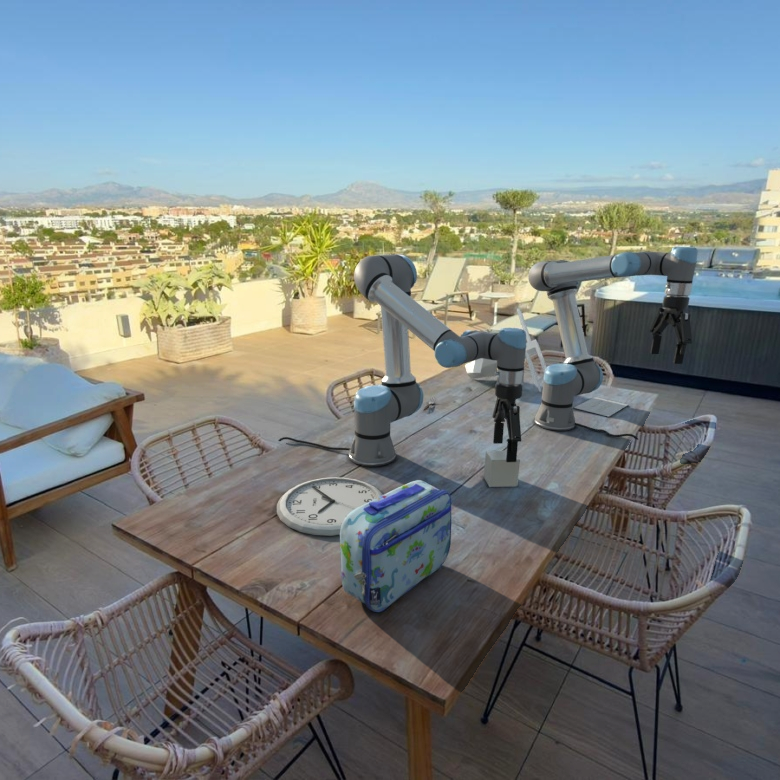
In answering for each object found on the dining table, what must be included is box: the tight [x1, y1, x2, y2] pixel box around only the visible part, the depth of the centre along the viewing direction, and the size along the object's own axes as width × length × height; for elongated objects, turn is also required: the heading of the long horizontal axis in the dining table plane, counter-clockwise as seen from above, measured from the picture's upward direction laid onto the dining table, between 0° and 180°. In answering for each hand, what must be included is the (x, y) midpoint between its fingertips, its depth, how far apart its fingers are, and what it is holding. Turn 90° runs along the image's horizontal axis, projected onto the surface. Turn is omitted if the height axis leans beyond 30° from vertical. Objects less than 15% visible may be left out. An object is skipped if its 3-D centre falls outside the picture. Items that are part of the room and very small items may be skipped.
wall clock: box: [276, 476, 385, 537], centre depth 142 cm, size 30×2×30 cm
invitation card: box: [573, 396, 629, 418], centre depth 226 cm, size 21×1×15 cm
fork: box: [422, 395, 437, 412], centre depth 223 cm, size 3×16×2 cm, turn 160°
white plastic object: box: [464, 307, 548, 393], centre depth 256 cm, size 37×45×31 cm
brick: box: [483, 450, 521, 488], centre depth 157 cm, size 8×6×9 cm
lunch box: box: [339, 479, 452, 613], centre depth 109 cm, size 26×11×21 cm, turn 134°
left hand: (504, 452), depth 155 cm, fingers open, 13 cm apart
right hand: (665, 358), depth 178 cm, fingers open, 13 cm apart
